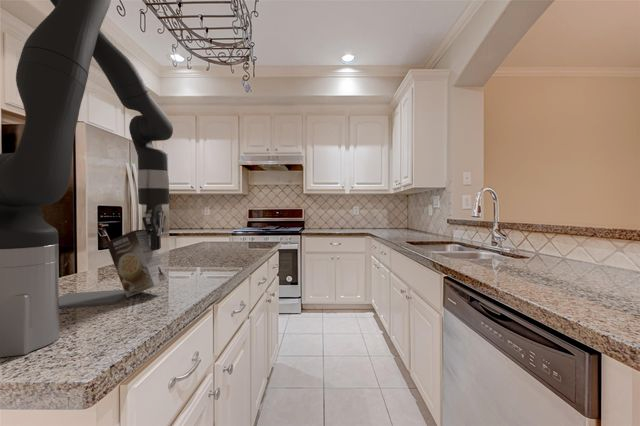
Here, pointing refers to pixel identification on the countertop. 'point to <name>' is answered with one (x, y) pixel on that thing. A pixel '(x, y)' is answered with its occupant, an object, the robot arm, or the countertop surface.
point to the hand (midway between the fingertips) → (156, 249)
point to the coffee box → (136, 262)
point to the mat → (91, 298)
